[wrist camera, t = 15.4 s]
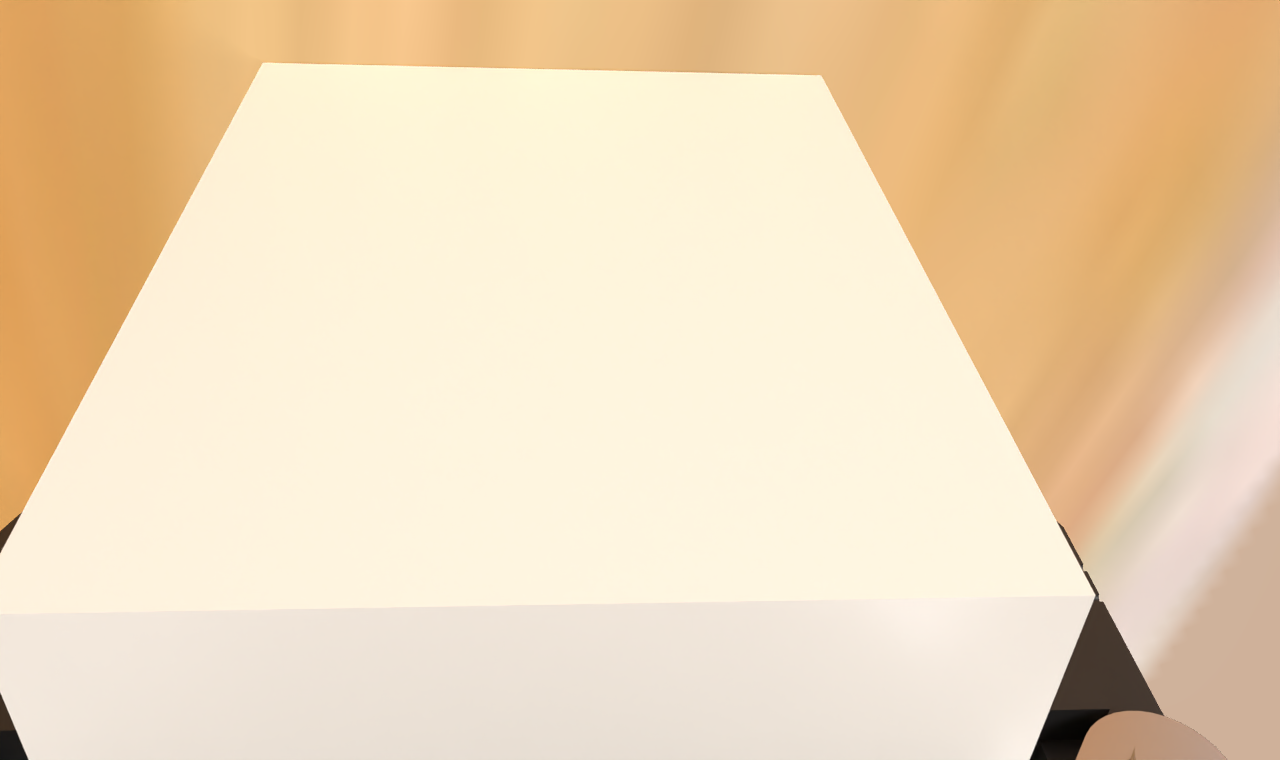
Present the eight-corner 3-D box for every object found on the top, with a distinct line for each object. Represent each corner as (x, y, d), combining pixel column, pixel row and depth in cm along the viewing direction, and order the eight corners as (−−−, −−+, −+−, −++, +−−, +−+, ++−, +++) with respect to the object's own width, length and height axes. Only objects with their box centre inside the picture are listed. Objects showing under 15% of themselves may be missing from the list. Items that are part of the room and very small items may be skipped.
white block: (263, 62, 14) (-33, 616, 7) (821, 75, 14) (1095, 595, 7) (325, 490, 18) (181, 1122, 11) (760, 487, 18) (899, 1083, 11)
